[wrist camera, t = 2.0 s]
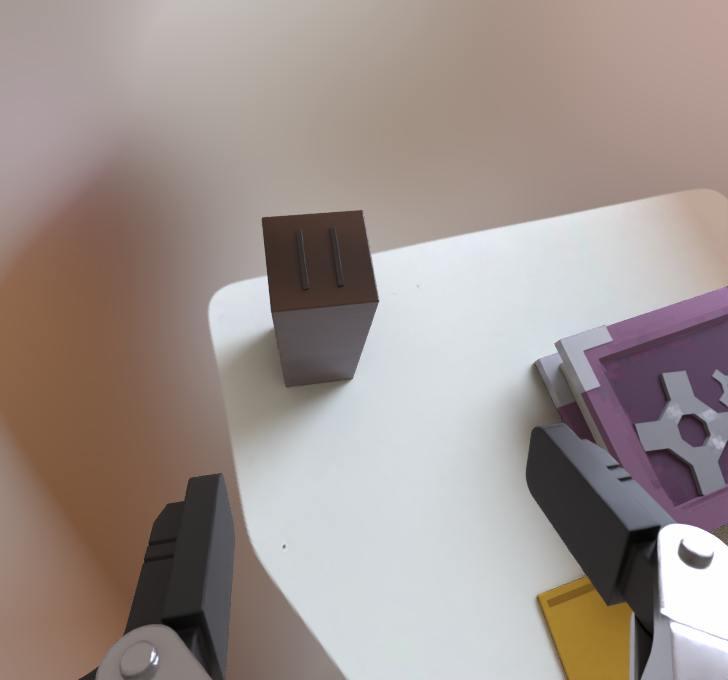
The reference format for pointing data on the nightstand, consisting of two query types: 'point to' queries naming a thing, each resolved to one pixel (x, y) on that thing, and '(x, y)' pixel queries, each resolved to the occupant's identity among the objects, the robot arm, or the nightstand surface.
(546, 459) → the robot arm
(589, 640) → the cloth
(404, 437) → the nightstand surface
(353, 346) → the knife block
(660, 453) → the book
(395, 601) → the nightstand surface
